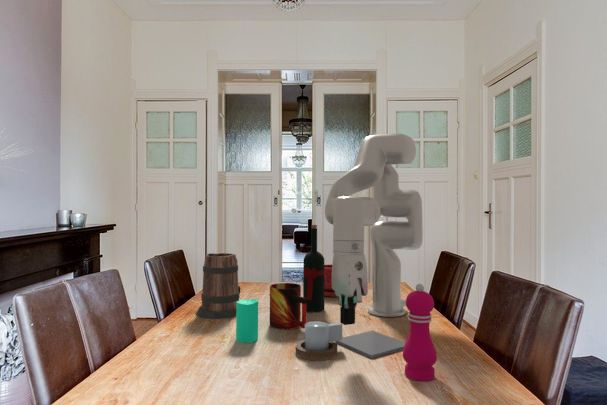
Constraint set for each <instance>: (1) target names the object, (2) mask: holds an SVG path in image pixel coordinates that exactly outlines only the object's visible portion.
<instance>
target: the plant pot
mask: <svg viewBox="0 0 607 405" xmlns="http://www.w3.org/2000/svg"><path fill="white" fill-rule="evenodd" d="M325 296H326V297H330V298H334V297H335V298H336V297H337V298H339V297H338V296H337V295H336V294H335V291H334V290H333V289H332V264H324V297H325Z"/></svg>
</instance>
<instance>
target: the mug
mask: <svg viewBox="0 0 607 405" xmlns="http://www.w3.org/2000/svg"><path fill="white" fill-rule="evenodd" d="M306 323H308V322H307V312H306V298H304V297H303V296H302V286H301V285H300V284H298V283H293V282H279V283H277V282H276V283H273V284H270V285H269V326H270V327H271V328H273V329H276V330H293V329H296V328H301V329H304V330H305V324H306Z"/></svg>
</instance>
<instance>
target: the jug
mask: <svg viewBox="0 0 607 405" xmlns="http://www.w3.org/2000/svg"><path fill="white" fill-rule="evenodd" d="M342 338H343V324H342V323H340V322H337V323H336V322H335V323H328V322H323V321H318V320H317V321H309V322H307V323H306V324H305V329H304V340H305V349H306V350H310V351H324V350H329V342H335V341H341V340H342Z"/></svg>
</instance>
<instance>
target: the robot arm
mask: <svg viewBox="0 0 607 405" xmlns="http://www.w3.org/2000/svg"><path fill="white" fill-rule="evenodd" d="M416 151H417V149H416V143H415V141H414V139H413V138H412V137H411V136H408V135H406V134H404V133H383V134H373V135H372V134H371V135H368V136H365V137H364V138H363V140H362V141H361V143H360V144H359V148H358V152H357V156H356V158H355V162H354V166H353V168H352V169H350V170H348V171H347V172H345V173H344V174H343V175H342V176H340V177H339V178H338V179H337V180H336V181H335V182H334V183H333V184H332V186H331V187H330V190H329V193H328V196H327V198H326V200H325V202H326V203H325V207H324V216H325V218H326V221H327V222H328V223H329V224H331V225H332V226H333V227H332V228H333V229H332V239H333V240H332V254H333V255H332V256H333V257H332V264H331V265H332V289H333V290H334V291H335V294H336V295H337V296H338V297H337V298H338V302H339V303H338V305H339V307H340V312H339V313H340V314H339V316H340V317H339V320H340V321H339V323H341V324H342V325H344V326H347V325H355V323H356V308H357V304H361V303H363V297H366V296H367V295H368V293H369V290H368V289H369V287H368V286H369V285H368V283H369V282H368V280H369V278H368V277H369V276H368V265H367V259H366V255H365V227H370V230H369V231H370V232H369V236H370V242H371V248H372V249H371V250H372V252H371V253H372V305H371V306H368V307H367V312H368V313H369V314H370V315H373V316H376V317H377V316H378V317H383V318H396V317H397V318H398V317H402V316H404V315H405V314H406V309H405V307H406V299H404V298H402V296H401V295H402V294H401V290H402V289H401V288H402V287H401V286H402V285H401V284H402V279H401V276H402V267H401V266H402V262H401V259H400V257H399V256H398V255H397V253H396V252H395V251H394V250H407V251H408V250H409V251H410V250H413V251H414V250H419V249H420V248H421V247H422V244H423V232H424V231H423V203H422V202H423V201H422V196H421V194H420V193H419V191H417V190H415V189H400V185H399V177H400V176H399V173H398V171H397V170H396V168H394V166H393V165H409V164H412V163H413V162H414V160H415V158H416V153H417V152H416ZM369 188H373V197H367V196H366V197H365V196H361V197H360V196H351V195H353V194H356V193H359V192H361V191H364V190H368V189H369ZM381 217H382V218H397V219H398V218H403V219H404V218H405V219H406V220H407V221H402V220H401V221H400V220H398V221H397V220H380V221H379V219H380V218H381Z"/></svg>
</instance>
